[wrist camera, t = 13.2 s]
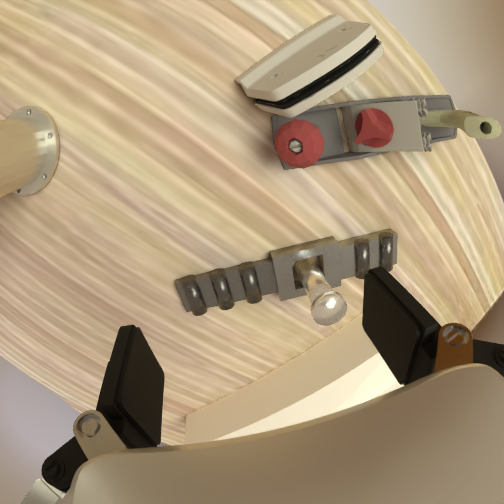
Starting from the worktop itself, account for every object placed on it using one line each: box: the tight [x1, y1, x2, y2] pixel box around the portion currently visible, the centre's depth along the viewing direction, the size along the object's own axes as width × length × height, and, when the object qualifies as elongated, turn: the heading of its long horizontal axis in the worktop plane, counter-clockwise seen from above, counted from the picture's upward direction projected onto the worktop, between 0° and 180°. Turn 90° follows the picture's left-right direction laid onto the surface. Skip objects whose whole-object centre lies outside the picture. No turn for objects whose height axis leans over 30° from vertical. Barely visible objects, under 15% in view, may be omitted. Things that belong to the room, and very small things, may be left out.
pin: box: [295, 258, 347, 326], centre depth 36 cm, size 4×4×11 cm
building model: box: [185, 313, 404, 444], centre depth 50 cm, size 45×22×10 cm, turn 127°
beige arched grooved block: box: [235, 15, 384, 118], centre depth 26 cm, size 17×5×10 cm, turn 131°
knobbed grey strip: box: [175, 229, 397, 316], centre depth 39 cm, size 32×7×3 cm, turn 102°
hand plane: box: [271, 95, 501, 170], centre depth 27 cm, size 7×31×15 cm, turn 105°
